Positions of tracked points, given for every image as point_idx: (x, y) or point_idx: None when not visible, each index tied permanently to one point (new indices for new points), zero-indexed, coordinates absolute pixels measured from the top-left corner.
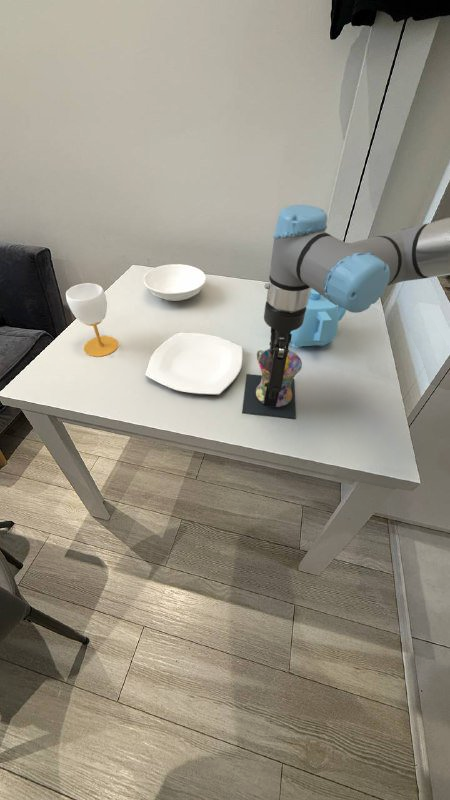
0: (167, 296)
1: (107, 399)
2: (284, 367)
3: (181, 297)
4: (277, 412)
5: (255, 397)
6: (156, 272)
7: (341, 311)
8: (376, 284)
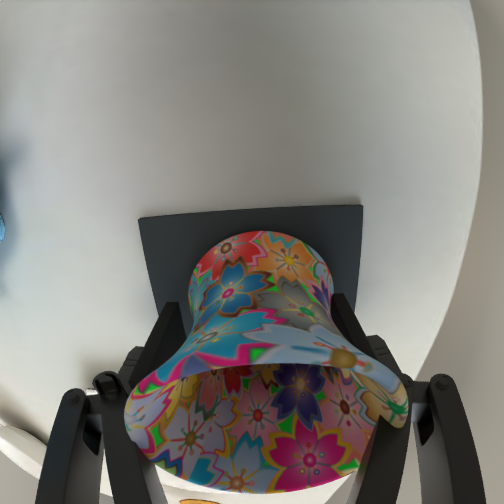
0: None
1: (312, 491)
2: (482, 491)
3: None
4: (343, 272)
5: None
6: (34, 472)
7: None
8: None
